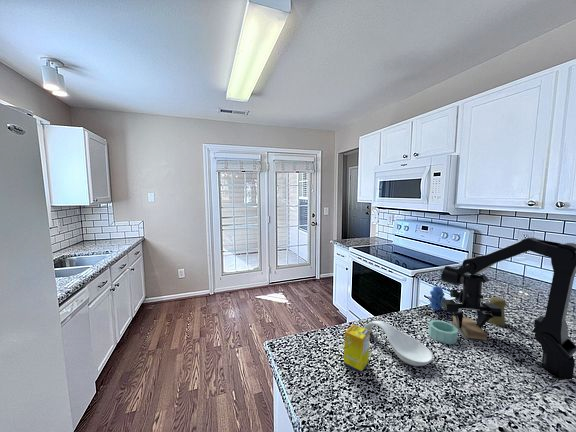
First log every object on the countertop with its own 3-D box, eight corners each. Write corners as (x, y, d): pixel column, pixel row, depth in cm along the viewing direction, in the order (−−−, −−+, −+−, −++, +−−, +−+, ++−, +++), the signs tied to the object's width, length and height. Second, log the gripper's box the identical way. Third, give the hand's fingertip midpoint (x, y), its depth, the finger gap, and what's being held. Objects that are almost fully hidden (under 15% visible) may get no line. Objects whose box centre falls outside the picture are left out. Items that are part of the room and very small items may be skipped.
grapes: (440, 318, 106) (442, 291, 105) (424, 311, 111) (426, 286, 110) (451, 311, 113) (453, 286, 112) (435, 305, 118) (437, 281, 117)
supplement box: (351, 355, 80) (352, 323, 79) (368, 363, 76) (370, 330, 75) (342, 364, 76) (344, 331, 75) (361, 374, 72) (363, 338, 71)
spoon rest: (438, 363, 77) (440, 341, 77) (420, 378, 71) (422, 355, 70) (374, 329, 97) (375, 311, 96) (355, 338, 90) (356, 320, 89)
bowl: (461, 346, 86) (462, 334, 85) (433, 343, 87) (434, 331, 87) (450, 332, 94) (451, 321, 94) (425, 329, 96) (425, 319, 96)
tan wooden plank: (486, 339, 88) (487, 334, 88) (468, 337, 89) (468, 332, 89) (469, 323, 100) (469, 317, 100) (452, 321, 101) (453, 316, 101)
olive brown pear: (509, 328, 99) (511, 302, 98) (492, 326, 100) (494, 300, 99) (499, 320, 105) (501, 296, 104) (483, 319, 106) (485, 294, 105)
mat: (489, 343, 88) (489, 342, 88) (464, 340, 90) (464, 339, 89) (471, 326, 100) (471, 324, 100) (449, 323, 101) (450, 322, 101)
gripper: (487, 284, 99) (483, 321, 101) (436, 280, 103) (434, 315, 104) (505, 295, 88) (501, 336, 90) (448, 290, 92) (445, 329, 93)
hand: (468, 328), depth 94 cm, fingers closed on tan wooden plank, 6 cm apart
